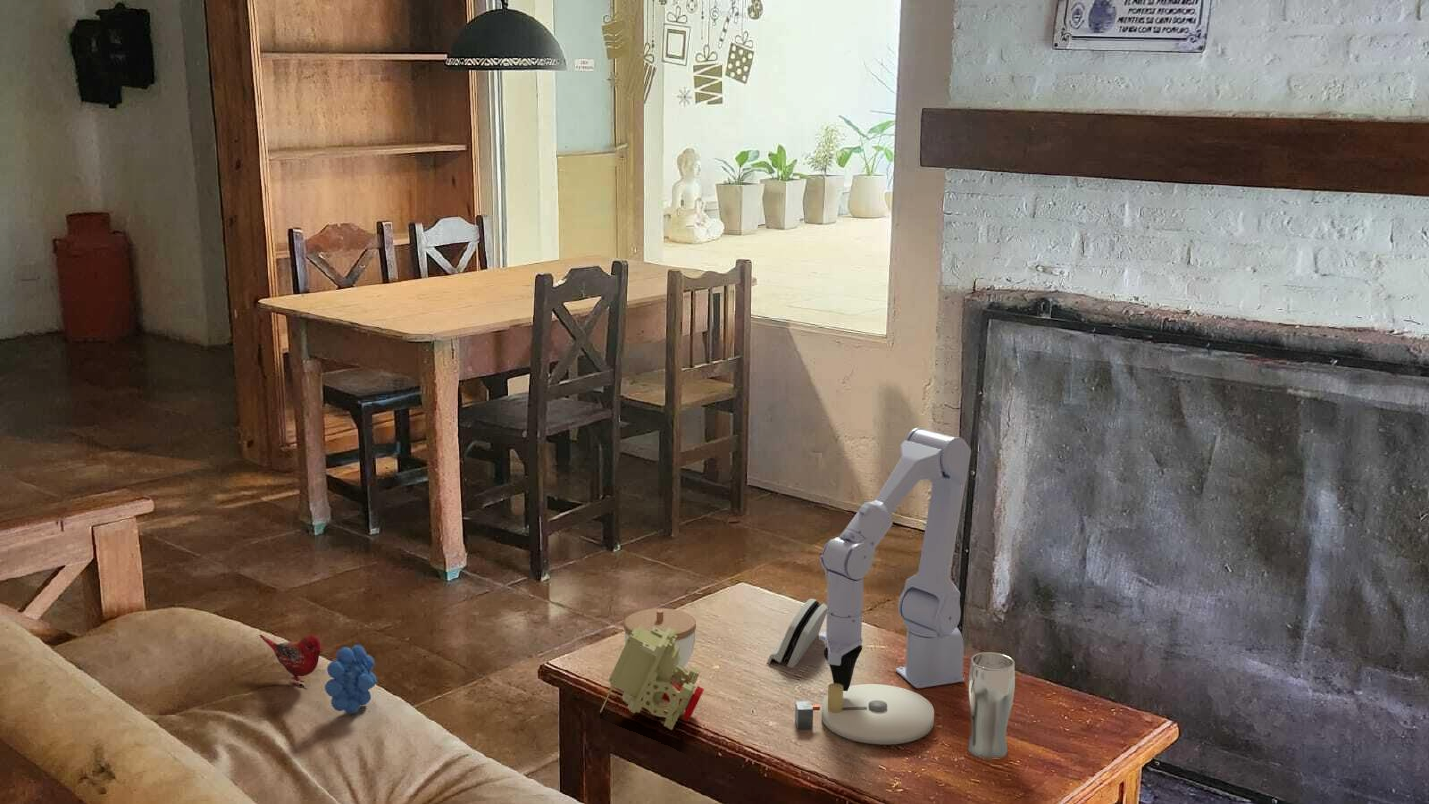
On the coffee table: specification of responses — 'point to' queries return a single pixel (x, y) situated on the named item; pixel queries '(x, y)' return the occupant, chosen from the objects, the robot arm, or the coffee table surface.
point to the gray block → (804, 714)
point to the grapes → (350, 679)
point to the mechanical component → (655, 676)
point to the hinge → (800, 633)
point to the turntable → (877, 713)
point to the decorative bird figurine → (297, 655)
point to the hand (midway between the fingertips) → (842, 688)
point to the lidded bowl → (665, 620)
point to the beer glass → (990, 703)
